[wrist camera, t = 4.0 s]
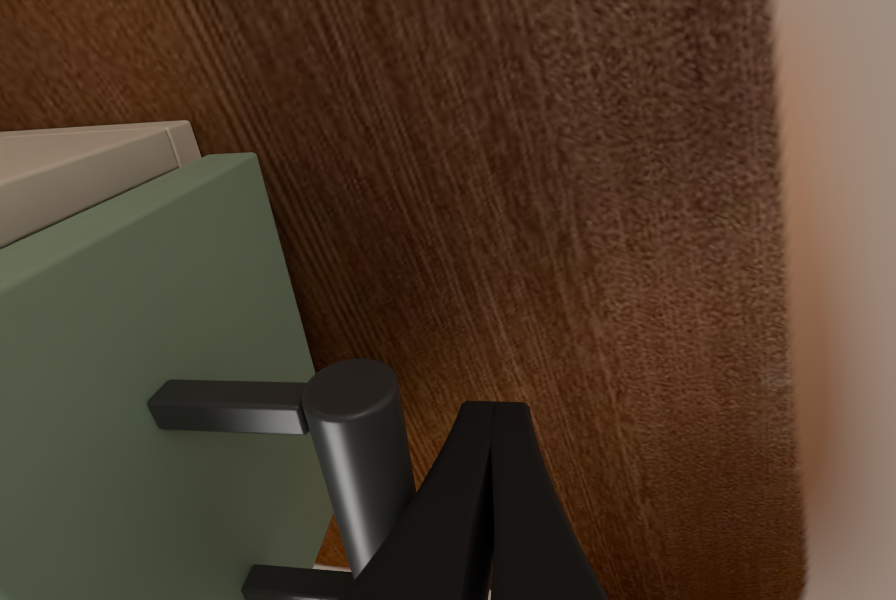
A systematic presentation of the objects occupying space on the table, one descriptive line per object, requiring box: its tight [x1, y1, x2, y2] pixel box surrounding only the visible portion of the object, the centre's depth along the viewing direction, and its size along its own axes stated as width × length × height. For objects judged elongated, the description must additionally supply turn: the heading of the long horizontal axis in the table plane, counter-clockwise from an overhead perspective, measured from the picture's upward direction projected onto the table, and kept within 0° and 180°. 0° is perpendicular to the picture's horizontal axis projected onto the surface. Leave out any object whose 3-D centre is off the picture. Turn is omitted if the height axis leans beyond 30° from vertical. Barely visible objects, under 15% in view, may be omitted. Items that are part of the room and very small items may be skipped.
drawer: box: [0, 152, 416, 600], centre depth 11 cm, size 16×11×8 cm, turn 94°
